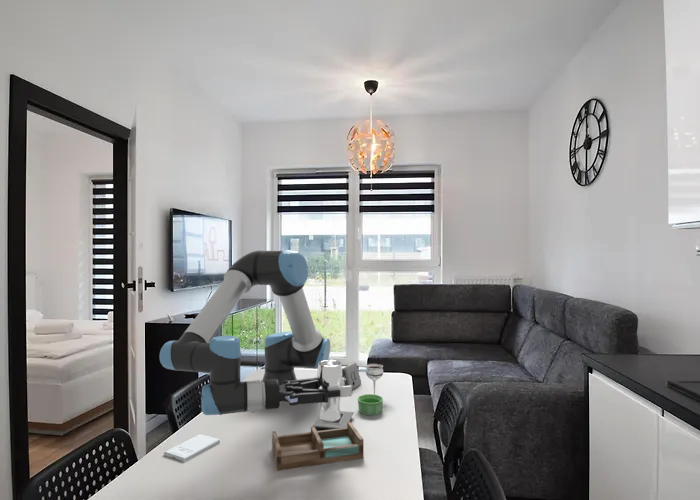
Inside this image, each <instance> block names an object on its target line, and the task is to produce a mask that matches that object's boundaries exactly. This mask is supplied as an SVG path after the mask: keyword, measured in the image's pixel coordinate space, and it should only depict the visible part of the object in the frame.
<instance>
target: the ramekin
mask: <svg viewBox="0 0 700 500" xmlns="http://www.w3.org/2000/svg"><path fill="white" fill-rule="evenodd" d="M356 400H357V404H358V410H359V411H358V412H359V413H361V414H363V415H367V416H374V415H375V416H376V415H378V414H380V413H381V412H382V409H383V402H384V398H383V397H382V396H380V395H378V394H375V395H374V393H372V394H370V393H369V394H368V393H367V394H362V395H359V396H357V399H356Z"/></svg>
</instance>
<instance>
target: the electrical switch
mask: <svg viewBox="0 0 700 500" xmlns="http://www.w3.org/2000/svg"><path fill="white" fill-rule="evenodd" d="M342 378H344V386H350V385H351V386H352V390H354V389H355V388H357V387H359V386H360V385H362V379H361V376H360V373H359V368H358V364H357V362H352V363H350V364H349V365H347V366H345V367H342Z"/></svg>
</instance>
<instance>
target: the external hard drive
mask: <svg viewBox="0 0 700 500" xmlns="http://www.w3.org/2000/svg"><path fill="white" fill-rule="evenodd" d="M220 443H221V441H220V439H219V438H216V437H213V436H209V435H206V434H204V433H203V434H202V433H201V434H200V433H199V434H197V435H196V436H193V437H192V438H190V439H187V440H186V441H184V442H182V443H180V444H178V445H175V446H173V447H172V448H169V449H168V450H165V451H163V454H164V456H166V457H169V458H172V459H173V458H174V459H175V460H178V461H181V462H183V463H185V462H188V461H189V460H191V459H193V458H194V457H196V456H198V455H200V454H202V453H205V452H206V451H208V450H209V449H212V448H213V447H215V446H217V445H218V444H220Z"/></svg>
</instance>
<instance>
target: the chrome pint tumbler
mask: <svg viewBox="0 0 700 500" xmlns="http://www.w3.org/2000/svg"><path fill="white" fill-rule="evenodd" d="M342 369H343V367H342V361H339V360H334V359H328V360H325V361H321V362H319V363H318V368H317V371H316V373H317V374H316V378H317V384H318V389H328V388H331V387H339V386H342ZM340 399H341V397H340V398H330V399H328V403H326V402H324V403H319V413H318V417H319V419H320V420H322V421H326V422H333V421H337V420H339V419H340V418H341V414H340V411H341V409H340V402H341V401H340Z"/></svg>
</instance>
